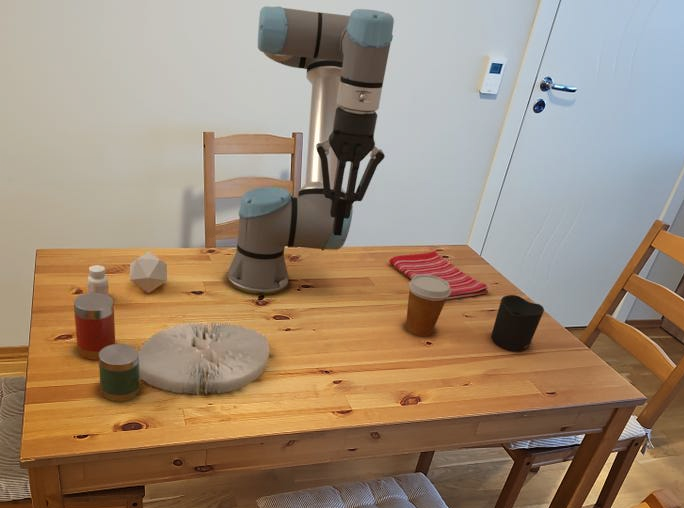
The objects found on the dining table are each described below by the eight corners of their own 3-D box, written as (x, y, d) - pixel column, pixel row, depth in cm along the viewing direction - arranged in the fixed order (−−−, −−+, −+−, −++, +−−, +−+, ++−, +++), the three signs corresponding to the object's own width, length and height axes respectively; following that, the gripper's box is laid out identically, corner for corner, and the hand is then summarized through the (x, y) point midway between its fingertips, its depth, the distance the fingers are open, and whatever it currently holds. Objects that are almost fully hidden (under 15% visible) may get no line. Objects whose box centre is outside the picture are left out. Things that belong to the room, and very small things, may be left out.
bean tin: (105, 378, 120) (103, 342, 115) (142, 381, 120) (141, 345, 116) (97, 400, 114) (94, 363, 110) (136, 403, 114) (135, 366, 110)
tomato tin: (82, 339, 130) (78, 290, 124) (118, 341, 131) (116, 294, 125) (73, 358, 124) (69, 308, 118) (111, 361, 125) (109, 312, 119)
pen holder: (499, 353, 144) (512, 314, 139) (482, 331, 152) (494, 294, 146) (537, 353, 146) (551, 315, 140) (518, 332, 154) (531, 295, 148)
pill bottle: (112, 297, 146) (111, 266, 142) (101, 305, 142) (100, 274, 138) (95, 293, 147) (94, 262, 143) (84, 301, 143) (82, 269, 139)
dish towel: (433, 258, 187) (436, 249, 186) (488, 294, 170) (491, 285, 169) (386, 264, 180) (388, 255, 178) (438, 302, 163) (441, 293, 161)
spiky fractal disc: (117, 348, 128) (116, 336, 127) (237, 322, 143) (238, 311, 141) (163, 410, 113) (163, 398, 112) (293, 374, 128) (295, 362, 126)
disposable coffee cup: (439, 343, 145) (452, 296, 139) (397, 334, 146) (408, 287, 140) (439, 323, 153) (451, 278, 146) (399, 315, 154) (410, 270, 148)
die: (174, 294, 152) (174, 252, 153) (152, 288, 144) (151, 244, 145) (145, 297, 156) (145, 256, 156) (121, 291, 147) (121, 249, 148)
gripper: (322, 110, 110) (305, 237, 123) (396, 118, 111) (371, 243, 124) (319, 100, 116) (303, 222, 129) (389, 107, 117) (366, 228, 130)
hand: (336, 232), depth 127 cm, fingers closed
